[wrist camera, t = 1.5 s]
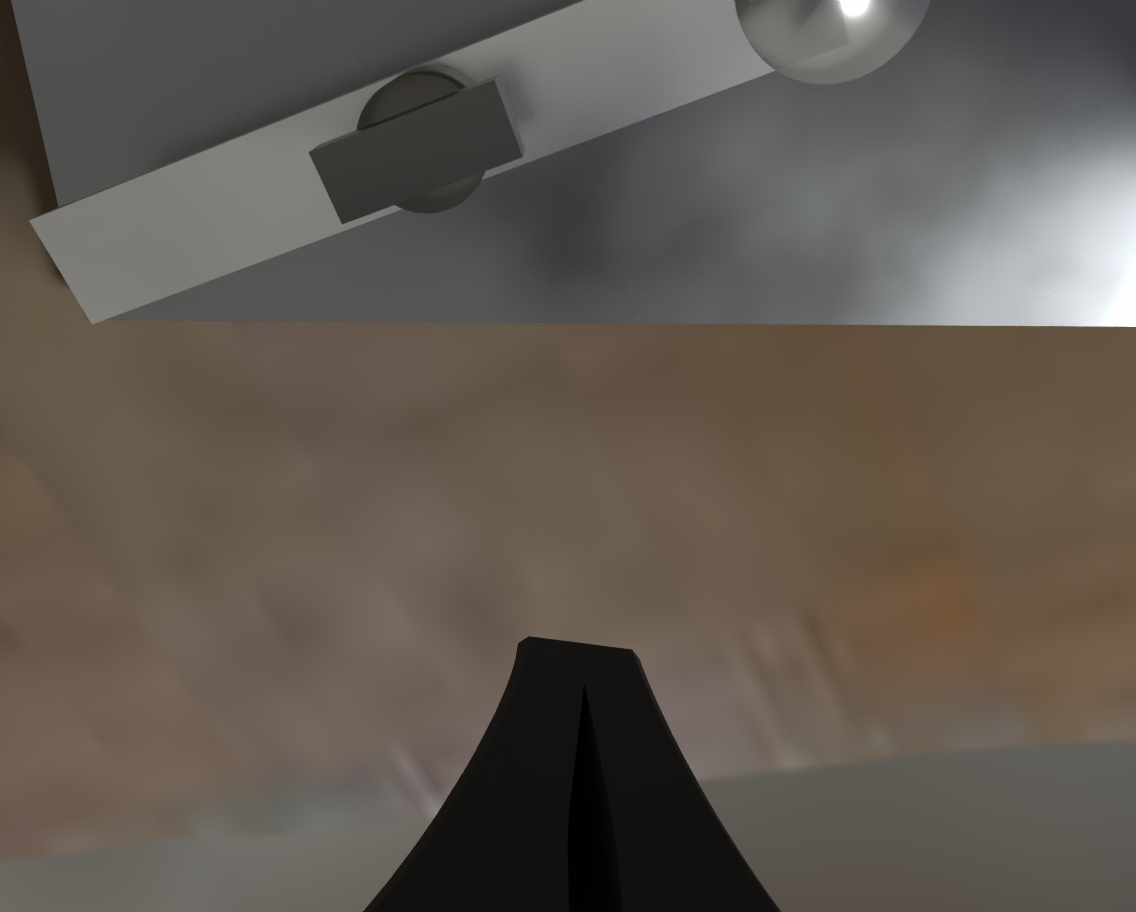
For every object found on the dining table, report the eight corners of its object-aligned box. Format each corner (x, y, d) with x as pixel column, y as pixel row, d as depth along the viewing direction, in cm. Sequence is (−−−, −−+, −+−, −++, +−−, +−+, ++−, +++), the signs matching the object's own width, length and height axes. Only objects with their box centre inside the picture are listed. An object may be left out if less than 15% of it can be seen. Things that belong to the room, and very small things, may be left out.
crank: (865, -157, 15) (973, -199, 11) (900, 30, 16) (1010, 56, 12) (87, 158, 17) (-69, 221, 13) (168, 301, 19) (48, 401, 14)
